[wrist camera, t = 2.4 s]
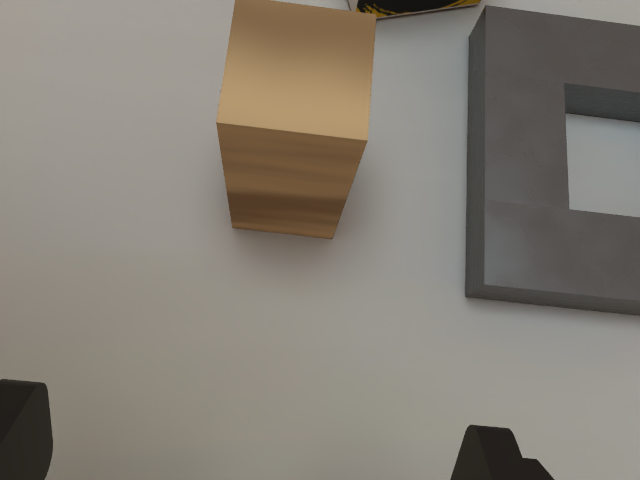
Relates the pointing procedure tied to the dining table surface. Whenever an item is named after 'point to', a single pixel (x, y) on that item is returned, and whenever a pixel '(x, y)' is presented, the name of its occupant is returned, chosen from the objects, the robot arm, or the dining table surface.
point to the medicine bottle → (405, 6)
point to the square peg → (294, 114)
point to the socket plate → (545, 161)
